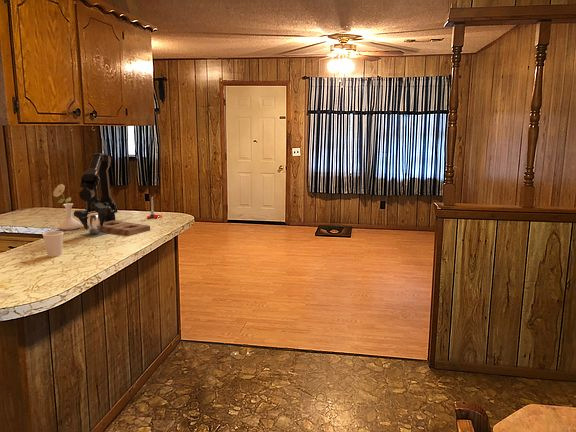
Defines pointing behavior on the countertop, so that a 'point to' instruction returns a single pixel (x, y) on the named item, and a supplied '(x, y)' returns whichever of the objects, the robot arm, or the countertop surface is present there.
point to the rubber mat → (94, 235)
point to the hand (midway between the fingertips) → (94, 227)
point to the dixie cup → (53, 242)
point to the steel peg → (93, 224)
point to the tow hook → (153, 211)
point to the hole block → (123, 227)
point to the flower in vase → (69, 221)
